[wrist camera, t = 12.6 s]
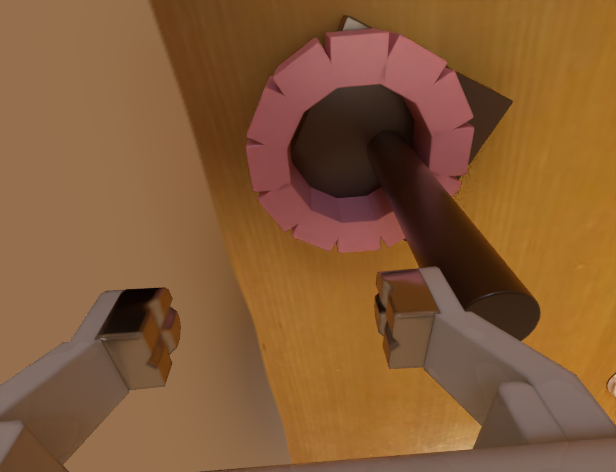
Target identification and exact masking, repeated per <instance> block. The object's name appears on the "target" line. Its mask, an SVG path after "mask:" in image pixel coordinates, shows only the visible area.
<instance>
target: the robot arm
mask: <svg viewBox="0 0 616 472" xmlns="http://www.w3.org/2000/svg"><path fill="white" fill-rule="evenodd" d="M376 286H377V290H378V294H377V295H376V296H375V304H374V308H375V319H376V324H377V328H378V332H379V333H380V334H381V335H383V336H384V338H383V349H384V353H385V356H386V359H387V363H388V366H389V369H399V368H418V367H424V370H425V371H426V372H427V373H429V374H430V375H431V376H432V377H433V378H434V379H435V380H436V381H437V382H438V383H439V384H440V385H441V386H442V387H443V388H444V389H445V390H446V391H447V392H448V393H449V394H450V395H451V396H452V397H453V398H454V399H455V400H456V401H457V402H458V403H459V404H460V405H461V406H462V407H463V408H464V409H465V410H466V411H467V412H468V413H469V414H470V415H471V416H472V417H473V418H474V419H475V420H476V421H477V422H478V423H479V424H480V425H481V426H482V428H481V430H480V433H479V435H478V437H477V440H476V442H475V445H474V447H473V449H470V450H458V451H446V452H434V453H422V454H409V455H397V456H385V457H372V458H360V459H348V460H336V461H323V462H311V463H299V464H288V465H275V466H263V467H251V468H238V469H227V470H214V471H202V472H616V425H615V424H614V423H613V422H612V420H611V419H610V418H609V416H608V415H607V414H606V413H605V411H604V410H603V409H602V407H601V406H600V405H599V404H598V402H597V401H596V400H595V399H594V397H593V396H592V395H591V393H590V392H589V391H588V390H587V388H586V387H585V386H584V384H583V383H582V382H581V381H580V379H579V378H578V377H577V375H575V374H574V373H572V372H570V371H569V370H567V369H565V368H564V367H562V366H560V365H559V364H557V363H556V362H554V361H552V360H551V359H549V358H547V357H546V356H544V355H542V354H541V353H539V352H537V351H536V350H534V349H532V348H531V347H529V346H527V345H526V344H524V343H523V342H521V341H519V340H518V339H516V338H514V337H513V336H511V335H509V334H508V333H506V332H504V331H503V330H501V329H499V328H498V327H496V326H494V325H493V324H491V323H489V322H488V321H486V320H485V319H483V318H481V317H480V316H478V315H476V314H475V313H473V312H471V311H470V312H465V311H464V309H463V307H462V306H461V304H460V302H459V301H458V299H457V297H456V296H455V294H454V292H453V291H452V289H451V287H450V286H449V284H448V282H447V281H446V279H445V277H444V275H443V274H442V272H441V270H440V269H439V268H438V267H436V266H435V267H425V268H417V269H407V270H394V271H382V272H378V273H377V276H376ZM171 302H172V296H171V294H170V291H169V289H167V288H165V287H164V288H145V289H126V290H114V291H105V292H103V293H101V294H100V296H99V297H98V299H97V300H96V302H95V303H94V305H93V306H92V308H91V309H90V311H89V313H88V314H87V316H86V317H85V319H84V320H83V322H82V324H81V325H80V326H79V328H78V330H77V331H76V333H75V334H74V336H73V338H72V339H71V340H70V342H63V343H61V344H60V345H58V346H57V347H56V348H54V349H53V350H51V351H50V352H48V353H47V354H45V355H44V356H42V357H41V358H39V359H38V360H36V361H35V362H34V363H32V364H31V365H29V366H28V367H26V368H25V369H23V370H22V371H21V372H19V373H17V374H16V375H15V376H13V377H12V378H10V379H9V380H7V381H6V382H4V383H3V384H1V385H0V472H69V471H68V470H67V469H66V468H65V467H64V466H63V464H64V463H65V462H66V461H67V460H68V459H69V458H70V457H71V456H72V454H73V453H74V452H75V451H76V450H77V449H78V448H79V447H80V446H81V444H83V442H84V441H85V440H86V439H87V438H88V437H89V436H90V435H91V434H92V433H93V431H94V430H95V429H96V428H97V427H98V426H99V425H100V424H101V423H102V422H103V421H104V419H105V418H106V417H107V416H108V415H109V414H110V413H111V412H112V411H113V410H114V408H115V407H116V406H117V405H118V404H119V403H120V402H121V401H122V399H124V398H125V396H126V395H127V394H128V393H129V390H136V389H146V388H154V387H163V386H165V384H166V381H167V378H168V374H169V372H170V369H171V366H172V361H171V358H170V356H169V355H170V354H171V353H172V352H173V351H174V350H175V349H176V348H177V346H178V343H179V340H180V330H181V325H180V319H179V316H178V313H177V311H176V310H174V309H173V308H171V307H170V305H171Z"/></svg>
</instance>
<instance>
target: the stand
mask: <svg viewBox="0 0 616 472" xmlns="http://www.w3.org/2000/svg"><path fill="white" fill-rule="evenodd" d="M361 29H372V28H371V27H369V26H367V25H366V24H364V23H362V22H360V21H358V20H356V19H354V18H352V17H350V16H346V15H344V16H343V18H342V20H341V23H340V25H339V28H338V30H337V32H339V31H350V30H361ZM445 67H446V68H449V67H447V66H445ZM449 69H450V68H449ZM451 70H452V69H451ZM455 73H456V75H457V78H458V80H459V82H460V85H461V87H462V90H463V92H464V94H465V97H466V99H467V102H468V104H469V106H470V109H471V111H472V114H473V118H472V119H470V120H469V121H467V123H468V124H470V125H471V126H473V127H474V134H473V140H472V145H471V151H470V157H469V162H468V165H469V164H470V162H471V161H472V160H473V158H474V157H475V155H476V154H477V153H478V151H479V150H480V148H481V147H482V145H483V144H484V143H485V141H486V140H487V138H488V137H489V135H490V134H491V133H492V131H493V130H494V128H495V127H496V125H497V124H498V123H499V121H500V120H501V118H502V117H503V115H504V114H505V113H506V111H507V110H508V108H509V107H510V105H511V104H512V103H513V101H512V100H510V99H508V98H506V97H505V96H503V95H501V94H499V93H497V92H495V91H493V90H491V89H489V88H487V87H485V86H483V85H481V84H479V83H478V82H476V81H474V80H472V79H470V78H468V77H466V76H464V75H462V74H460V73H458V72H456V71H455ZM414 121H415V120H414V118H413V116H412V115H411V113H410V111H409V109H408V107H407V105H406V103H405V101H404V99H403V97H402V96H401V95H399V94H397V93H395V92H393V91H392V90H390V89H388V88H386V87H384V86H382V85H380V84H379V85H367V86H356V87H344V88H337V89H336V90H335V91H333V92H332V93H330V94H329V95H328V96H326V97H325V98H323V99H322V100H321V101H319V102H318V103H316V104H315V105H314V106H312V107H311V108H309V109H308V110H307V111H305V112H304V114H303V116H302V119H301V121H300V124H299V126H298V129H297V131H296V134H295V136H294V138H293V141H292V143H291V156H292V163H293V164H294V166H295V167H296V168H297V170H298V171H299V172H300V174H301V175H302V176H303V178H304V179H305V180H306V182H307V183H308V184H309V186H310V187H312V188H314V189H316V190H319V191H321V192H323V193H326V194H328V195H330V196H333V197H335V198H346V197H359V196H367V195H369V194H371V193H372V192H374V191H376V190H377V189H379V188H381V187H382V189H383V191H384V193H385V195H386V197H387V199H388V202H389V204H390V206H391V208H392V210H393V212H394V214H395V217H396V219H397V221H398V223H399V225H400V227H401V229H402V232H403V234H404V236H405V239H403V240H404V241H407V242H408V244H409V246H410V249H411V251H412V253H413V255H414V257H415V259H416V261H417V264H418V266H419V268H425V267H435V266H436V267H438V268H439V269H440V270H441V272H442V274H443V275H444V277H445V279H446V281H447V282H448V284H449V286H450V287H451V289H452V291H453V292H454V294H455V296H456V297H457V299H458V301H459V302H460V304H461V306H462V307H463V309H464V311H465V312H470V311H471V312H473V313H475V314H476V315H478V316H480V317H481V318H483V319H485V320H486V321H488V322H489V323H491V324H493V325H494V326H496V327H498V328H499V329H501V330H503V331H504V332H506V333H508V334H509V335H511V336H513V337H514V338H516V339H518V340H519V341H522V340H523V339H525V338H526V337H527V336H528V335H529V334H530V333H531V332H532V331H533V330H534V329H535V327H536V326H537V324H538V322H539V319H540V307H539V304H538V302H537V301H536V299H535V298H534V297H533V296H532V294H531V293H530V292H529V291H528V290H527V288H526V287H525V286H524V285H523V283H522V282H521V281H520V280H519V279H518V277H517V276H516V275H515V274H514V272H513V271H512V270H511V269H510V268H509V266H508V265H507V264H506V263H505V261H504V260H503V259H502V258H501V257H500V255H499V254H498V253H497V252H496V250H495V249H494V248H493V247H492V246H491V244H490V243H489V242H488V241H487V240H486V238H485V237H484V236H483V235H482V233H481V232H480V231H479V230H478V229H477V227H476V226H475V225H474V224H473V222H472V221H471V220H470V219H469V218H468V216H467V215H466V214H465V213H464V211H463V210H462V209H461V208H460V207H459V205H458V204H457V203H456V202H455V200H454V199H453V198H452V197H451V196H450V194H449V193H448V192H447V191H446V189H445V188H444V187H443V186H442V185H441V183H440V182H439V181H438V180H437V178H436V177H435V176H434V175H433V174H432V172H431V171H430V170H429V169H428V167H427V166H426V165H425V164H424V163H423V161H422V160H421V159H420V158H419V157H418V155H417V154H416V153H415V152H414V150H413V149H412V145H413V133H414ZM455 177H456V178H457V179H458V180H459V178H460V177H461V175H460V176H455Z"/></svg>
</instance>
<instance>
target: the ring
mask: <svg viewBox="0 0 616 472" xmlns="http://www.w3.org/2000/svg"><path fill="white" fill-rule="evenodd" d="M325 46H326V52H325V51H324V49H323V47H322V46H321V44H320V42H319V41H318V39H317V38H316V37H315V38H313V39H312V40H311V41H309V42H308V43H307V44H306V45H304V46H303V47H302V48H301V49H299V50H298V51H297V52H295V53H294V54H293V55H292V56H290V57H289V58H288V59H286V60H285V61H284V62H283V63H281V64H280V65H279V66H278V67H277V68H276V70H275V72H274V75H273V77H272V76H270V77H269V79H268V81H267V83H266V86H265V88H264V91H263V93H262V96H261V98H260V101H259V104H258V106H257V109H256V111H255V114H254V117H253V119H252V122H251V124H250V127H249V130H248V132H247V135H246V136H247V137H248V138H249V139H248V142H247V144H246V147H245V148H246V154H247V160H248V165H249V171H250V176H251V182H252V188H253V191H254V192H259V195H258V202H259V203H260V204H261V205H262V206H263V207H264V209H265V210H266V211H267V212H268V213H269V214H270V216H271V217H272V218H273V219H274V220H275V221H276V222H277V224H278V225H279V226H280V227H281V228H282V229H283V231H284V232H286V231H288V230H289V229H291V228H292V237H293V238H296V239H299V240H301V241H304V242H306V243H309V244H312V245H314V246H317V247H319V248H322V249H325V250H327V251H331V249H332V247H333V246H334V244H335V243H336V244H337V250H338V253H344V252H357V251H371V250H380V243H381V238H382V239H383V241H384V242H385V244H386V245H387V247H390V246H392V245H394V244H396V243H398V242H400V241H402V240H403V239H405V236H404V234H403V232H402V229H401V227H400V225H399V223H398V221H397V219H396V217H395V214H394V212H393V210H392V208H391V206H390V204H389V202H388V199H387V197H386V195H385V193H384V191H383V189H382V187H381V188H379V189H377V190H376V191H374V192H372V193H371V194H369V195H367V196H359V197H346V198H335V197H333V196H330V195H328V194H326V193H323V192H321V191H319V190H316V189H314V188H312V187H310V186H309V184H308V183H307V182H306V180H305V179H304V178H303V176H302V175H301V174H300V172H299V171H298V170H297V168H296V167H295V166H294V164H293V163H292V156H291V146H290V142H291V139H292V137H293V135H294V133H295V131H296V129H297V126H298V124H299V122H300V120H301V118H302V115H303V113H304V112H305V111H307V110H308V109H309V108H311V107H312V106H314V105H315V104H316V103H318V102H319V101H321V100H322V99H323V98H325V97H326V96H328V95H329V94H330V93H332V92H333V91H335V90H336V89H337V88H344V87H356V86H367V85H379V84H380V85H382V86H384V87H386V88H388V89H390V90H392V91H393V92H395V93H397V94H399V95H401V96H402V97H403V99H404V101H405V103H406V105H407V107H408V109H409V111H410V113H411V115H412V116H413V118H414V120H415V121H414V133H413V145H412V149H413V150H414V152H415V153H416V154H417V155H418V157H419V158H420V159H421V160H422V161H423V163H424V164H425V165H426V166H427V167H428V169H429V170H430V171H431V172H432V174H433V175H434V176H435V177H436V178H437V180H438V181H439V182H440V183H441V185H442V186H443V187H444V188H445V189H446V191H447V192H448V193H449V194H450V196H451V197H453V195H454V194H455V193H456V192H457V190H458V189H459V188H460V186H461V185H462V183H461V182H460V181H459V180H458V179H457V178H456V177H455V176H460V175H466V174H467V168H468V162H469V157H470V151H471V145H472V140H473V134H474V127H473V126H471V125H470V124H468V123H467V121H469V120H470V119H472V118H473V114H472V111H471V109H470V106H469V104H468V102H467V99H466V97H465V94H464V92H463V90H462V87H461V85H460V82H459V80H458V78H457V75H456V73H455V71H454V70H451V69H449V68H446V67H445V66H446V64H447V61H445V60H444V59H442V58H440V57H439V56H437V55H435V54H433V53H432V52H430V51H428V50H427V49H425V48H423V47H422V46H420V45H418V44H417V43H415V42H413V41H412V40H410V39H408V38H406V37H405V36H403V35H401V34H397V33H393V32H389V31H384V30H379V29H375V28H372V29H361V30H350V31H339V32H328V33H325Z"/></svg>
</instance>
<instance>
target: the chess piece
mask: <svg viewBox="0 0 616 472" xmlns="http://www.w3.org/2000/svg"><path fill="white" fill-rule="evenodd" d="M607 387H608V390H609V392H610V393H612V394H613V395H614V396H615V397H616V374H615V375H614V376H613V377H612V378H611V379H610V380H609V382H608V386H607Z"/></svg>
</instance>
